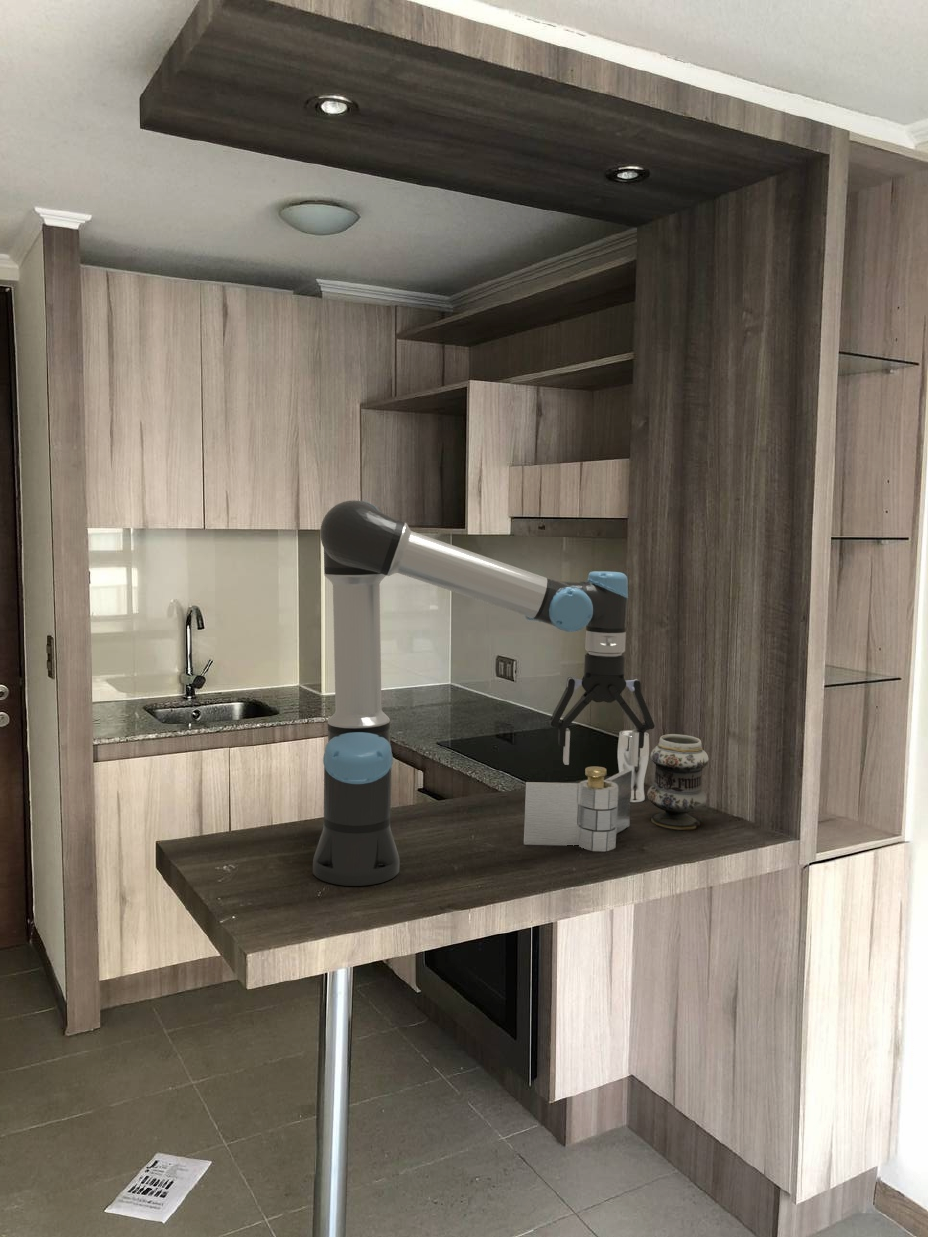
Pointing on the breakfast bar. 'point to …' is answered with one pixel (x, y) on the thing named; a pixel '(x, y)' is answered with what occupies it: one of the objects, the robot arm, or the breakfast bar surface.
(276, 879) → the breakfast bar surface
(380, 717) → the robot arm
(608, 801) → the hinge fixed leaf
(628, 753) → the beer glass
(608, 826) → the hinge swing leaf
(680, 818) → the apothecary jar
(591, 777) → the brass pin
